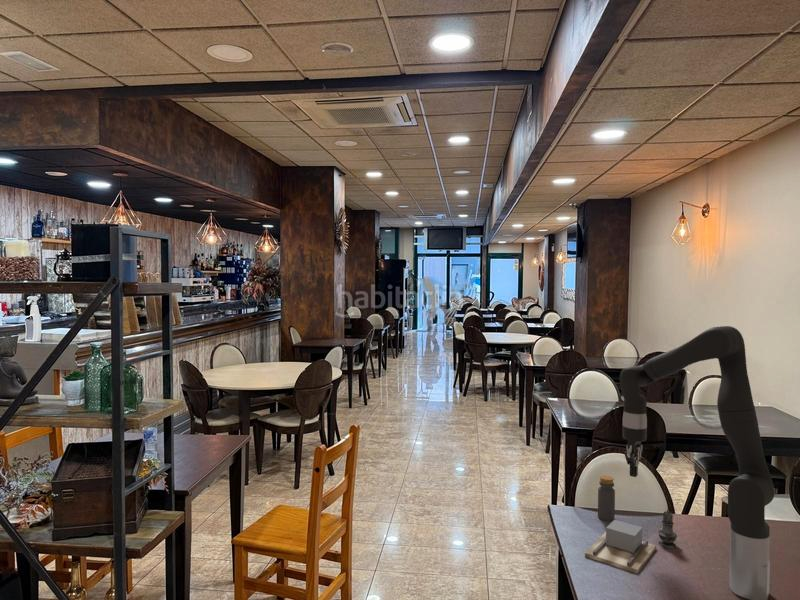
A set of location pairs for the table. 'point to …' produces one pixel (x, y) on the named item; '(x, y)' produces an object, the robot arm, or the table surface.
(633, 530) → the cover
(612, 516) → the bottle
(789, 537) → the table surface
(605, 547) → the board
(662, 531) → the salt shaker
